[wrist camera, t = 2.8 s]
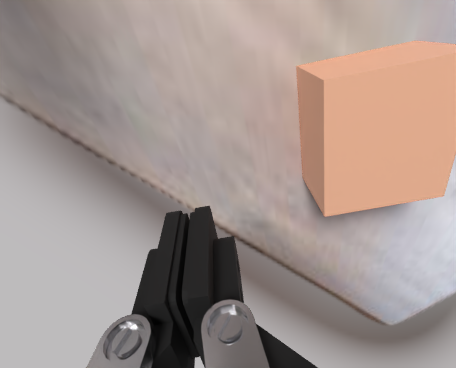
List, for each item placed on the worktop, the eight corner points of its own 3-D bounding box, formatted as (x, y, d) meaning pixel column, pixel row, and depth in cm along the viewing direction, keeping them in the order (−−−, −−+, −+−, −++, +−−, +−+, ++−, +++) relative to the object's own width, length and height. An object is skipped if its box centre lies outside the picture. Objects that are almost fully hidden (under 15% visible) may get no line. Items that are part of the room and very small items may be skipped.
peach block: (412, 40, 16) (485, 46, 12) (395, 159, 20) (443, 196, 16) (295, 65, 16) (323, 80, 12) (301, 176, 20) (324, 216, 16)
